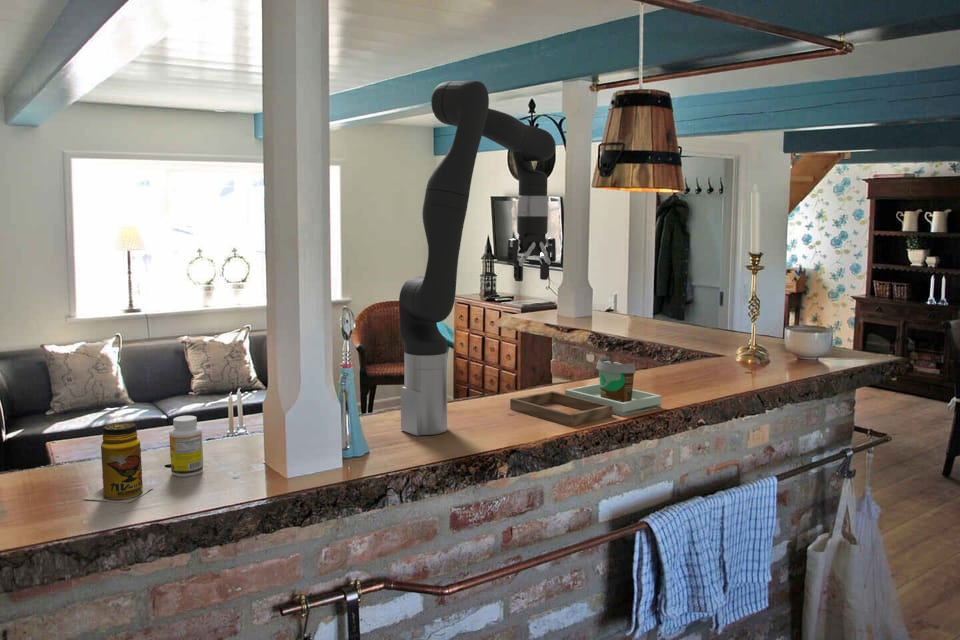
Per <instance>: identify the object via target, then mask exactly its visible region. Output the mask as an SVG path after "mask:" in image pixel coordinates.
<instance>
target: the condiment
mask: <svg viewBox="0 0 960 640" xmlns="http://www.w3.org/2000/svg"><path fill="white" fill-rule="evenodd" d="M137 430H138V427H137V425H136V423H135V422H131V421H130V422H128V421H120V422H119V421H118V422H112V423H109V424H106V425H105V426H104V427H102V442H101V444H100V452H101V453H100V456H101V470H102V474H101V475H102V476H101V477H102V485H103V486H102V488H100V489H99V490H97V491H96V492H94V493H92V494H90V495H88V496H86V497H84V498H83V500H87V501H88V500H89V501H92V500H93V501H100V502H101V501H103V502H110V503H111V502H112V503H125V504H126V503H131V502H133V501H134V500H136V499H139V498H140V497H142V496H143V495H145V494H146V493H148V492H149V491H150V490H151V491H152V489H153V488H155V487H153V486H151V487H150V486H143V469H142V467H143V466H142V448H141V441H140V439H139V438H138V434H139V433H138V431H137Z"/></svg>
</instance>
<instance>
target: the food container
mask: <svg viewBox="0 0 960 640" xmlns="http://www.w3.org/2000/svg"><path fill="white" fill-rule="evenodd" d="M635 365H636V364H634V363H631V364H629V363H627V364H625V363H624V362H622V361H615V360H611V357H610V356H602V357H600V358H599V359H598V361H597V363H596V367H595V368H596V370H598V372H599V374H598V375H599V383H600V395H601V397H602V398H606V399H610V400H615V401H619V402H628V401H632V390H633V388H634V379H635V377H634V376H635V374H636V372H637V371H636V366H635Z"/></svg>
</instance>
